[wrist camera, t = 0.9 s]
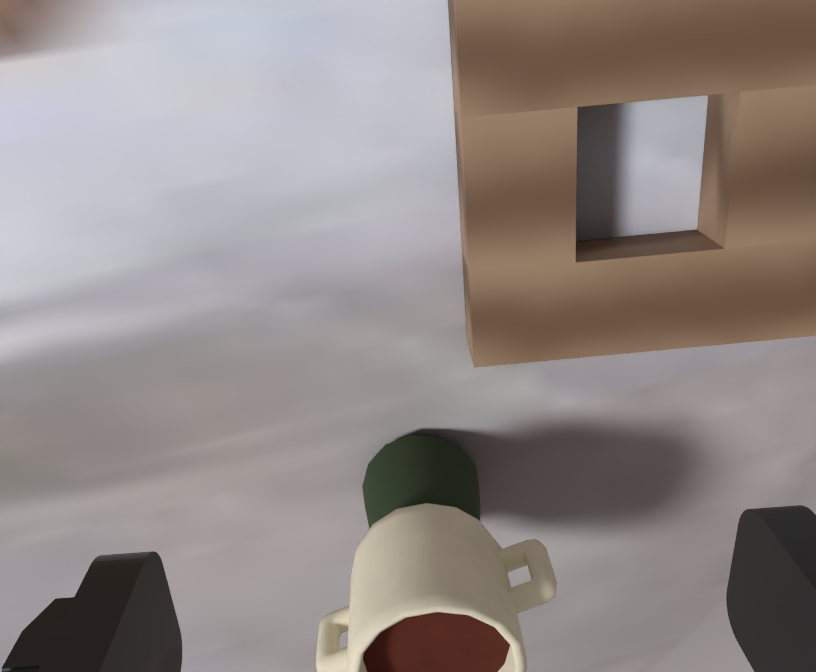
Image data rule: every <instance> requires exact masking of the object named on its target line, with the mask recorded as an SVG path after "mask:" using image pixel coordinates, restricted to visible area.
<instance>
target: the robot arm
mask: <svg viewBox="0 0 816 672" xmlns="http://www.w3.org/2000/svg"><path fill="white" fill-rule="evenodd" d="M727 610H728V616H729V620H730V624H731V627H732V630H733V633H734V635H735V637H736V639H737V641H738V643H739V645H740V647H741V649H742V650H743V652H744V654H745V656H746V658H747V659H748V661H749V663H750V664H751V666H752V668H753V670H754V672H816V515H815V514H814V513H813V512H812V511H811V510H810V509H809V508H807V507H805V506H800V505H798V506H785V507H772V508H758V509H748V510H745V511H744V512H743V513H742V514H741V517H740V519H739V524H738V530H737V535H736V541H735V547H734V553H733V558H732V564H731V570H730V576H729V582H728V587H727ZM181 664H182V639H181V632H180V628H179V624H178V620H177V617H176V613H175V609H174V605H173V601H172V598H171V594H170V590H169V586H168V582H167V579H166V575H165V571H164V567H163V564H162V561H161V558H160V556H159V555H158V553H156V552H141V553H127V554H114V555H101V556H98V557H97V558H95V559H94V561H93V562H92V564H91V565H90V567H89V569H88V571H87V573H86V575H85V577H84V579H83V581H82V583H81V585H80V587H79V589H78V591H77V593H76V595H75V597H72V598H59V599H55V600H54V601H53V602H52V603H51V604H50V605H49V606H48V607H47V608H46V609H45V610H44V611H42V612H41V613H40V614H39V615H38V616H37V617H36V618H35V619H34V620H33V621H32V622H31V623H30V624H29V625H28V626H27V627H26V628H25V629H24V630H23V631H22V633H21V634H20V636H19V638H18V640H17V642H16V643H15V645H14V647H13V649H12V651H11V652H10V654H9V656H8V658H7V660H6V661H5V663H4V665H3V667H2V672H181Z"/></svg>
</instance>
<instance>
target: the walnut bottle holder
mask: <svg viewBox="0 0 816 672" xmlns="http://www.w3.org/2000/svg"><path fill="white" fill-rule="evenodd" d="M448 9H449V26H450V44H451V62H452V80H453V98H454V116H455V133H456V151H457V169H458V187H459V205H460V222H461V240H462V258H463V276H464V294H465V312H466V329H467V342H468V346H469V349H470V353H471V357H472V361H473V364H474V367H484V366H494V365H505V364H516V363H527V362H537V361H548V360H559V359H570V358H581V357H591V356H602V355H613V354H624V353H634V352H645V351H656V350H667V349H678V348H688V347H699V346H710V345H721V344H732V343H742V342H753V341H764V340H775V339H785V338H796V337H807V336H815V335H816V0H448ZM701 95H708V107H707V119H706V131H705V143H704V155H703V167H702V179H701V191H700V204H699V216H698V228H697V230H692V231H681V232H670V233H660V234H649V235H638V236H627V237H616V238H606V239H595V240H584V241H576V183H577V107H583V106H594V105H604V104H615V103H626V102H637V101H647V100H658V99H669V98H680V97H690V96H701Z"/></svg>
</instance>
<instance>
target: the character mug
mask: <svg viewBox="0 0 816 672" xmlns="http://www.w3.org/2000/svg"><path fill="white" fill-rule="evenodd" d="M363 494H364V502H365V509H366V514H367V518H368V523H369V531H368V532H367V533H366V535H365V536H364V538H363V539H362V540H361V542H360V543H359V545H358V548H357V550H356V553H355V559H354V564H353V570H352V575H351V589H350V606H347V607H344V608H342V609H339V610H336V611H333V612H331V613H329V614H328V615H326V616H325V617H323V618H322V620H321V623H320V625H319V634H318V644H317V655H316V668H317V672H526V671H527V657H526V653H525V648H524V643H523V638H522V634H521V629H520V625H519V621H518V616H517V613H519V612H522V611H525V610H528V609H530V608H533V607H536V606H539V605H542V604H544V603H547V602H548V601H550V600H551V599H553V598H554V597H555V595H556V586H557V581H556V578H555V575H554V572H553V568H552V565H551V562H550V559H549V556H548V552H547V549H546V547H545V546H544V545H543V544H542V543H541V542H540V541H538V540H536V539H532V540H525V541H523V542H520V543H517V544H515V545H512V546H509V547H506V548H504V549H502V548H501V546H500V545H499V544H498V543H497V542H496V540H495V539H494V538H493V537H492V535H491V534H490V533H489V532H488V530H487V529H486V528H485V527H484V525H483V524H482V523H481V522H480V496H479V484H478V478H477V473H476V467H475V465H474V463H473V462H472V461H471V460H470V459H469V458H468V456H467V455H466V454H465V453H464V452H463V451H462V449H461V448H459V447H457V446H455V445H453V444H451V443H449V442H447V441H445V440H443V439H441V438H439V437H436V436H417V435H409V436H406V437H404V438H401V439H399V440H396V441H394V442H391V443H389V444H386V445H385V446H384V447H383V448H382V449H381V450H380V451H379V453H378V454H377V455H376V456H375V457H374V458H373V459H372V460H371V461H370V463H369V464H368V468H367V471H366V475H365V479H364V482H363ZM526 565H528V568H529V572H530V575H531V579H532V580H531V581H529V582H526V583H523V584H521V585H518V586H515V587H512V588H511V586H510V581H509V577H508V573H507V572H510V571H513V570H515V569H518V568H521V567H524V566H526ZM348 630H349V631H348ZM345 631H348V647H346V648H343V649H341V650H339V637H340V634H341V633H343V632H345Z"/></svg>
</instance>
